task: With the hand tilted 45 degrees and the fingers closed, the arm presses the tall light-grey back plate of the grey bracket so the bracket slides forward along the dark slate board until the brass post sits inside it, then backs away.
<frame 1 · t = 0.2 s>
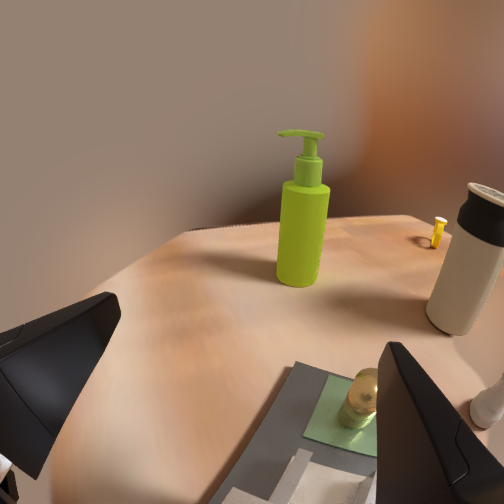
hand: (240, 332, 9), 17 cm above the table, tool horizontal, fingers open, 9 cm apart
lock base: (329, 478, 16), on the table
travel mug: (448, 319, 32), on the table
rook chess piece: (481, 414, 19), on the table
grey bracket: (333, 499, 11), point 5 cm above the table, slide at 0.0 cm
soap dispenser: (292, 276, 41), on the table
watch: (433, 245, 52), on the table
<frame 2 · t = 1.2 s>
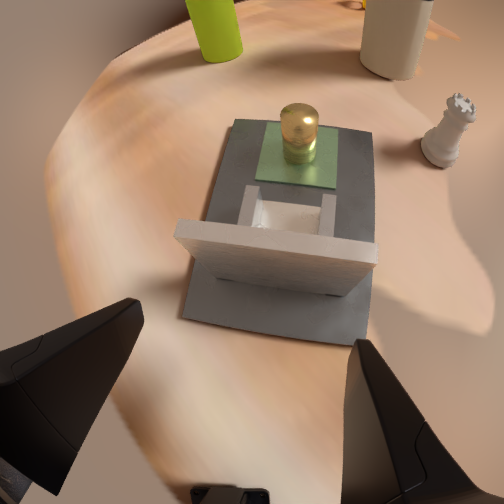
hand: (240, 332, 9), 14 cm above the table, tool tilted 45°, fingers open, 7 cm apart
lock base: (291, 215, 24), on the table
travel mug: (386, 66, 30), on the table
rook chess piece: (436, 154, 25), on the table
grey bracket: (284, 223, 18), point 6 cm above the table, slide at 0.0 cm
soap dispenser: (219, 54, 35), on the table
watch: (365, 7, 38), on the table
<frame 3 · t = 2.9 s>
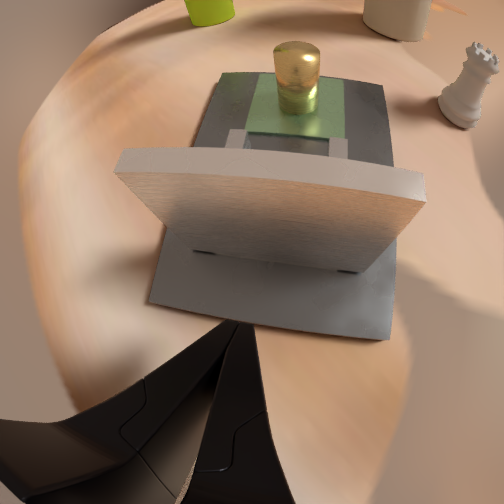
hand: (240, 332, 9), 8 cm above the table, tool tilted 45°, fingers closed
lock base: (290, 173, 19), on the table
travel mug: (392, 29, 24), on the table
rook chess piece: (455, 114, 19), on the table
grey bracket: (279, 167, 13), point 6 cm above the table, slide at 0.0 cm
soap dispenser: (209, 19, 29), on the table
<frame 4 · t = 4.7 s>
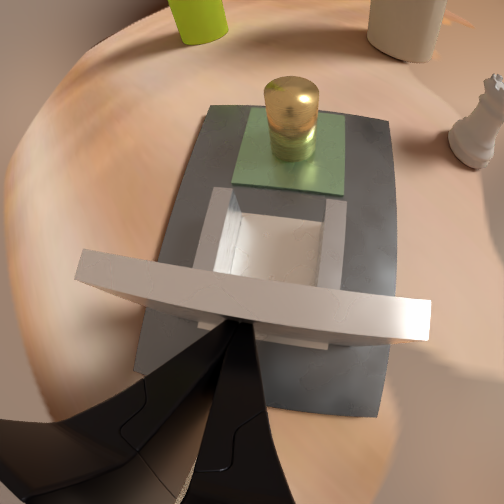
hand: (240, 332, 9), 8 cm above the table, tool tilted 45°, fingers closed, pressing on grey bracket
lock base: (281, 233, 18), on the table
travel mug: (398, 48, 24), on the table
rook chess piece: (466, 151, 18), on the table
grey bracket: (265, 247, 12), point 5 cm above the table, slide at 0.3 cm, touching gripper
soap dispenser: (201, 36, 28), on the table
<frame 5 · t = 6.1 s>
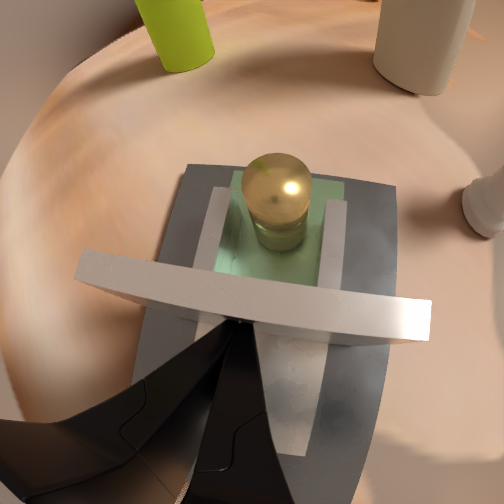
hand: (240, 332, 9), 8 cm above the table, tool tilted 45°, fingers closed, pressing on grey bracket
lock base: (264, 333, 16), on the table
travel mug: (408, 74, 22), on the table
rook chess piece: (479, 213, 16), on the table
grey bracket: (265, 247, 12), point 6 cm above the table, slide at 6.4 cm, touching gripper
soap dispenser: (184, 60, 26), on the table
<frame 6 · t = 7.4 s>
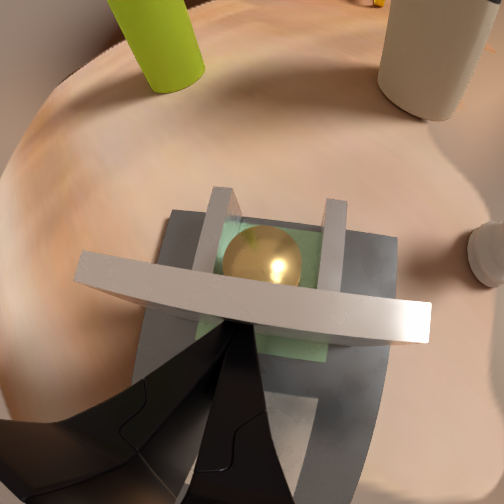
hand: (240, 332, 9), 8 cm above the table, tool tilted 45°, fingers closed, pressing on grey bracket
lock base: (252, 394, 15), on the table
travel mug: (415, 94, 21), on the table
rook chess piece: (485, 259, 15), on the table
grey bracket: (265, 247, 12), point 6 cm above the table, slide at 10.0 cm, touching gripper, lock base
soap dispenser: (173, 78, 25), on the table
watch: (378, 4, 28), on the table
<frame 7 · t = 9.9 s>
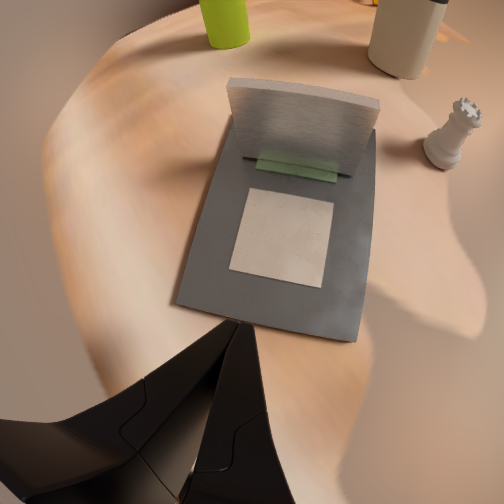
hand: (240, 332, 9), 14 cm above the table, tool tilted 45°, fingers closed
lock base: (290, 207, 24), on the table
travel mug: (394, 64, 30), on the table
rook chess piece: (438, 155, 25), on the table
grey bracket: (305, 105, 21), point 5 cm above the table, slide at 10.0 cm, touching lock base
soap dispenser: (226, 41, 33), on the table
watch: (376, 4, 36), on the table
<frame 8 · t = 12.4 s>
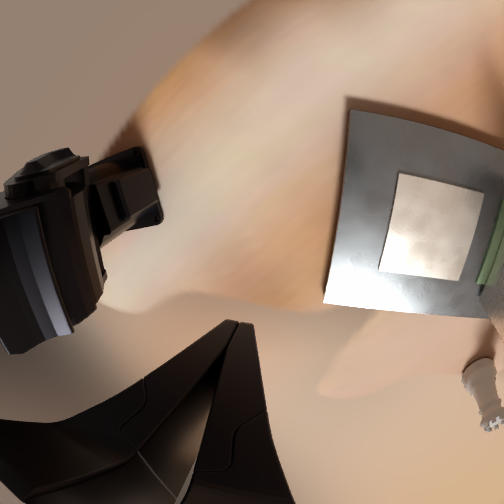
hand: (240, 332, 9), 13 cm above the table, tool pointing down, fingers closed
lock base: (460, 232, 17), on the table
rook chess piece: (476, 368, 23), on the table
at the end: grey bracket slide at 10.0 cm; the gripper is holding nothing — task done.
